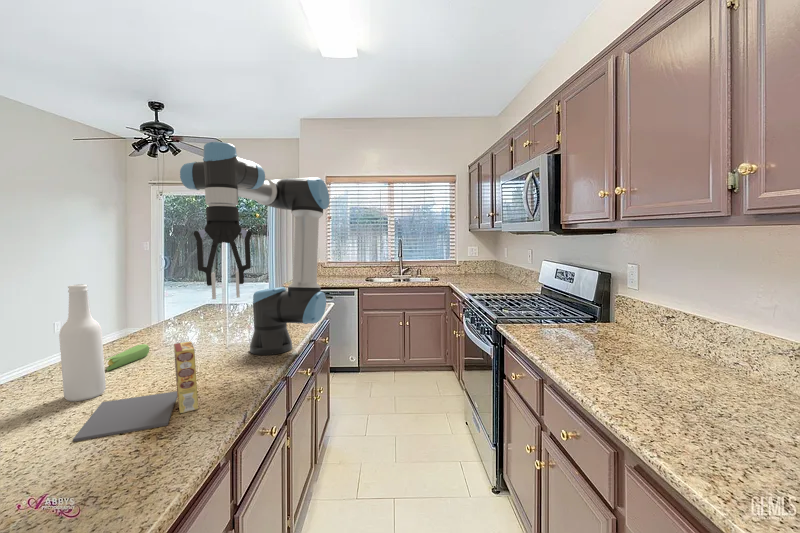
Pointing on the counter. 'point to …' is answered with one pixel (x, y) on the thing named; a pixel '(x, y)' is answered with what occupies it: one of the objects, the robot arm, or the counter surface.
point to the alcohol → (81, 349)
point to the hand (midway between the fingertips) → (226, 297)
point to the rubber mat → (129, 415)
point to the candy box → (186, 376)
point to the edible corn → (128, 356)
